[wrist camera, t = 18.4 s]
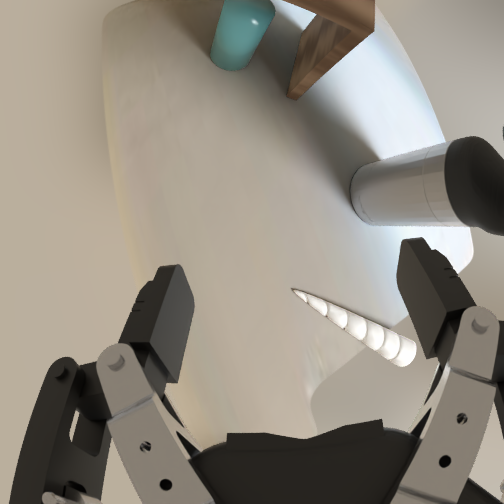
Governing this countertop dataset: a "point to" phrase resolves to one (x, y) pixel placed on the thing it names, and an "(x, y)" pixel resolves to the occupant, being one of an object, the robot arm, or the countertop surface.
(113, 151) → the countertop surface
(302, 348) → the countertop surface
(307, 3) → the shelf
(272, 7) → the teal rounded cylinder
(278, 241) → the countertop surface
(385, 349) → the unicorn horn
